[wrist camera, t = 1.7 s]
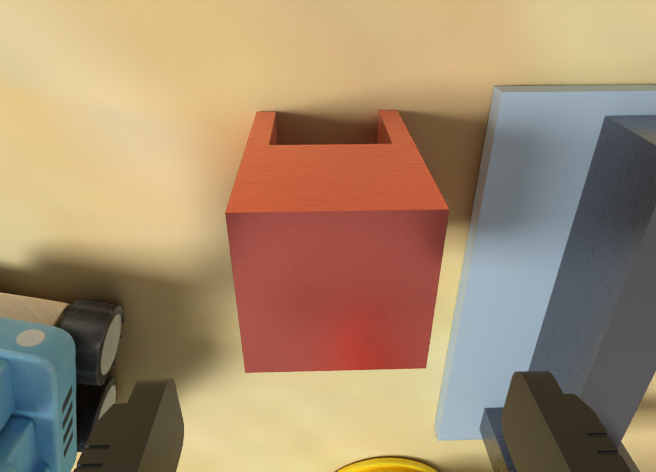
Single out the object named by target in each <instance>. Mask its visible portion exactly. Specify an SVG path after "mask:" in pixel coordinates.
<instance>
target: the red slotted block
mask: <svg viewBox="0 0 656 472" xmlns="http://www.w3.org/2000/svg"><path fill="white" fill-rule="evenodd" d="M225 214H226V222H227V230H228V238H229V246H230V254H231V262H232V270H233V278H234V286H235V294H236V302H237V310H238V318H239V326H240V334H241V342H242V350H243V358H244V366H245V373H254V372H294V371H335V370H375V369H415V368H426V364H427V358H428V351H429V344H430V337H431V330H432V324H433V317H434V310H435V303H436V296H437V290H438V283H439V276H440V269H441V262H442V256H443V249H444V242H445V235H446V228H447V222H448V215H449V208H448V206H447V204H446V202H445V200H444V198H443V196H442V195H441V193H440V191H439V189H438V187H437V185H436V183H435V181H434V179H433V177H432V175H431V174H430V172H429V170H428V168H427V166H426V164H425V162H424V160H423V158H422V156H421V154H420V153H419V151H418V149H417V147H416V145H415V143H414V141H413V139H412V137H411V135H410V133H409V132H408V130H407V128H406V126H405V124H404V122H403V120H402V118H401V116H400V114H399V112H398V111H397V110H379V116H378V134H377V144H328V145H278V144H277V126H276V112H257V113H256V116H255V119H254V122H253V126H252V129H251V132H250V135H249V138H248V142H247V145H246V148H245V151H244V154H243V158H242V161H241V164H240V167H239V171H238V174H237V177H236V180H235V183H234V187H233V190H232V193H231V196H230V200H229V203H228V206H227V209H226V212H225Z"/></svg>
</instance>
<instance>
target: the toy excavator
mask: <svg viewBox="0 0 656 472" xmlns="http://www.w3.org/2000/svg"><path fill="white" fill-rule="evenodd" d="M123 314H124V313H123V308H122V307H121V306H120V305H116V304H110V303H103V302H97V301H91V300H85V299H82V298H80V299H78V300H76V301H74V303H73V304H68V303H64V302H58V301H52V300H46V299H39V298H33V297H27V296H21V295H14V294H7V293H0V472H70V471H71V469H72V467H73V465H74V463H75V460H76V455H77V452H82V451H83V450H85V445H86V443H87V440H88V438H89V436H90V434H91V432H92V430H93V427H94V425H95V423H96V422H97V421H98V420H99V419H100V418H101V417H102V416H103V414H104V413H105V412H106V411H107V410H108V409H109V408H110V407H111V406H112V405H113V404H115V403H116V399H117V394H116V386H115V383H114V380H115V378H114V377H109V376H107V374H108V372H109V370H110V369H111V366H112V365H114V364H115V360H116V354H117V349H118V343H119V339H120V338H121V337H122V336H121V335H120V331H121V322H122V323H123V322H124V315H123Z"/></svg>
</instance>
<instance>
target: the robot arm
mask: <svg viewBox="0 0 656 472" xmlns="http://www.w3.org/2000/svg"><path fill="white" fill-rule="evenodd" d="M501 422H502V432H503V436H504V440H505V443H506V445H507V448H508V450H509V453H510V455H511V458H512V460H513V463H514V465H515V468H516V470H517V472H632V471H631V470H630V468H629V467H628V465H627V463H626V462H625V460H624V459H623V457H622V455H619V453H618V449H617V447H616V446H615V444H614V442H613V441H612V439H611V438H610V437H608V435H607V431H606V429H605V428H604V426H603V425H602V423H601V421H600V420H599V418H598V417H597V415H596V413H595V412H594V411H593V410H592V409H591V408H590V407H589V406H588V405H587V404H585V403H584V402H583V401H582V400H581V399H580V398H579V397H578V396H577V395H575V394H564V393H563V392H562V390H561V388H560V386H559V385H558V383H557V381H556V379H555V378H554V376H553V375H552V374H551V373H550V372H549V371H518V372H514V374H513V375H512V378H511V382H510V386H509V390H508V393H507V397H506V401H505V404H504V408H503V412H502V419H501ZM183 438H184V423H183V417H182V413H181V409H180V404H179V400H178V395H177V391H176V386H175V382H174V380H173V379H140V380H138V381H137V382H136V384H135V386H134V389H133V391H132V394H131V396H130V398H129V401H128V403H127V404H113V405H112V406H111V407H110V408H109V409H108V410H107V411H106V412H105V413H104V414H103V416H102V417H101V418H100V419H99V420H98V421H97V422H96V423H95V425H94V427H93V430H92V432H91V434H90V436H89V438H88V440H87V443H86V445H85V450H83V451H82V454H81V456H80V458H79V460H78V462H77V468H76V469H74V471H73V472H176V470H177V466H178V462H179V458H180V454H181V450H182V446H183Z"/></svg>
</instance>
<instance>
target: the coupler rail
mask: <svg viewBox="0 0 656 472" xmlns="http://www.w3.org/2000/svg"><path fill="white" fill-rule="evenodd" d="M528 371H549V372H550V373H551V374H552V375H553V376H554V378H555V379H556V381H557V383H558V385H559V386H560V388H561V390H562V392H563V393H564V394H575V395H577V396H578V397H579V398H580V399H581V400H582V401H583V402H584V403H585V404H587V405H588V406H589V407H590V408H591V409H592V410H593V411H594V412H595V413H596V415H597V417H598V418H599V420H600V421H601V423H602V425H603V426H604V428H605V429H606V431H607V435H608V437H610V438H611V439H612V441H613V442H614V444H615V446H616V447H617V449H618V453H619V455H622V457H623V459H624V460H625V462H626V463H627V465H628V467H629V468H630V470H631V471H632V472H640V471H639V469H638V468H637V466H636V465H635V463H634V461H633V460H632V458H631V457H630V455H629V453H628V452H627V450H626V449H625V447H624V445H623V444H622V442H621V440H622V438H623V436H624V434H625V432H626V430H627V428H628V426H629V424H630V422H631V420H632V418H633V416H634V414H635V412H636V410H637V408H638V406H639V404H640V402H641V400H642V398H643V396H644V394H645V392H646V390H647V388H648V386H649V384H650V382H651V380H652V378H653V375H654V373H655V371H656V115H621V116H605V118H604V121H603V124H602V128H601V131H600V134H599V138H598V141H597V144H596V147H595V151H594V154H593V157H592V161H591V164H590V167H589V171H588V174H587V177H586V181H585V184H584V187H583V191H582V194H581V197H580V200H579V204H578V207H577V210H576V214H575V217H574V220H573V224H572V227H571V230H570V234H569V237H568V240H567V244H566V247H565V250H564V254H563V257H562V260H561V263H560V267H559V270H558V273H557V277H556V280H555V283H554V287H553V290H552V293H551V297H550V300H549V303H548V307H547V310H546V313H545V317H544V320H543V323H542V326H541V330H540V333H539V336H538V340H537V343H536V346H535V350H534V353H533V356H532V360H531V363H530V366H529V370H528ZM503 408H504V407H500V408H484V412H483V416H482V420H481V424H480V428H479V430H480V433H481V436H482V439H483V441H484V444H485V447H486V450H487V453H488V456H489V459H490V461H491V464H492V467H493V470H494V472H517V470H516V468H515V465H514V463H513V460H512V458H511V455H510V453H509V450H508V448H507V445H506V443H505V440H504V436H503V432H502V422H501V419H502V412H503Z"/></svg>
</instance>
